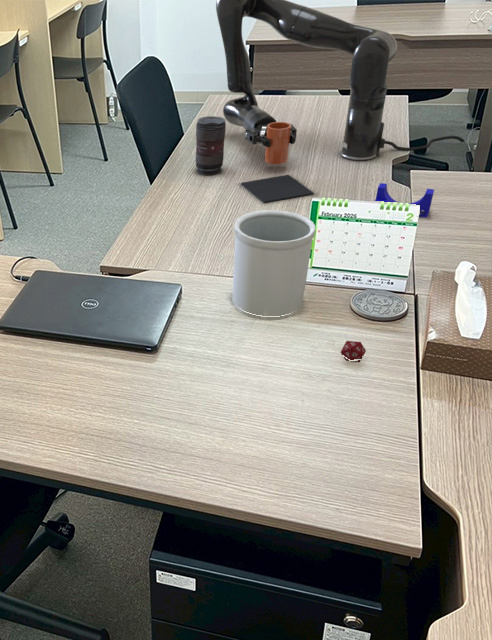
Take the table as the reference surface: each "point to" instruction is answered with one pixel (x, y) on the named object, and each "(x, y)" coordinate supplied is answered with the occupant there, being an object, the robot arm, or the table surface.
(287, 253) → the utensil holder
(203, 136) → the camera lens
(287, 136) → the cup
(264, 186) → the desk mat
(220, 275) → the table surface
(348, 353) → the dice
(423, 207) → the blue cradle bracket
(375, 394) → the table surface
